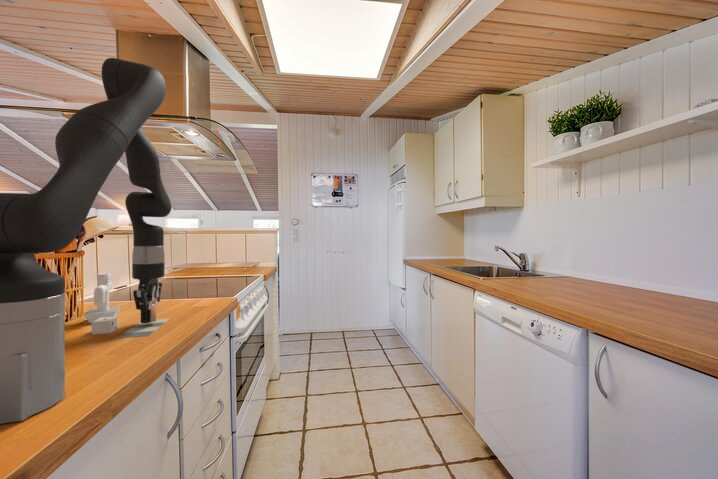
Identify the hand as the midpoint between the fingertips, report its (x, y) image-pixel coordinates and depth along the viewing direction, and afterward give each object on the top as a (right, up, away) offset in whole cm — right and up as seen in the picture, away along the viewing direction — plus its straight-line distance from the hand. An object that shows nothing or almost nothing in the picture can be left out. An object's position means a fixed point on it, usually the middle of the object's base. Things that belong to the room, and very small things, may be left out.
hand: (148, 320), depth 83 cm
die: (-8, -2, -5) cm, 10 cm away
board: (+1, -2, -2) cm, 3 cm away
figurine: (-17, -2, +4) cm, 18 cm away
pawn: (0, 0, 0) cm, 0 cm away
